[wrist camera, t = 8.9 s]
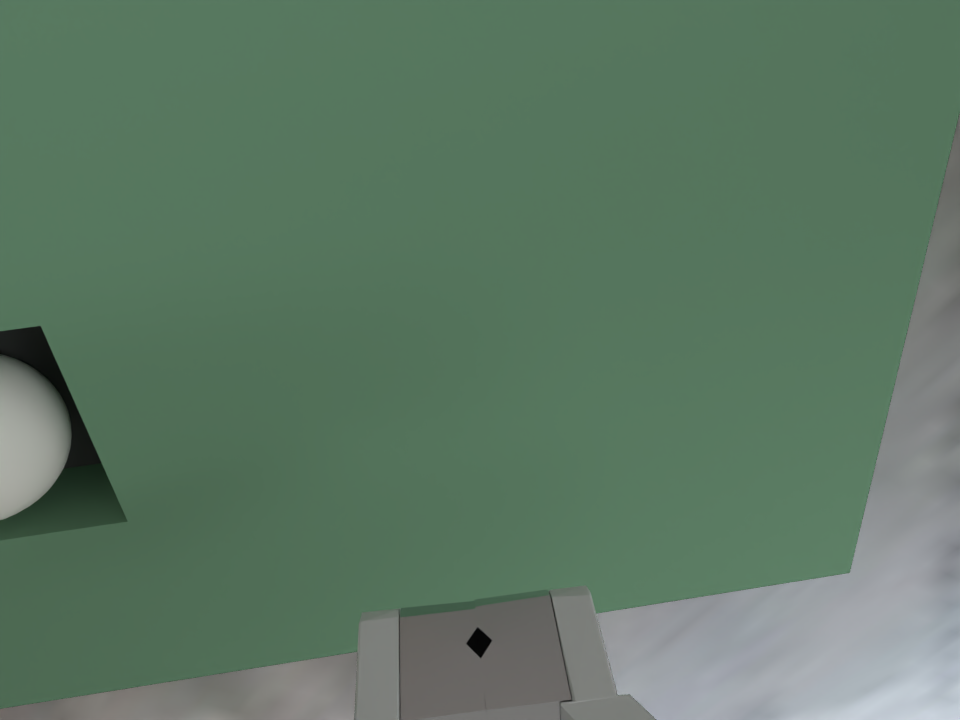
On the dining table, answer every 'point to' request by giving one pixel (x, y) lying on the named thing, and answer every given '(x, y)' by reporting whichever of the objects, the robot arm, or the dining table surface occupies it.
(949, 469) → the dining table surface
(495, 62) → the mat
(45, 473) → the ball
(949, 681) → the dining table surface
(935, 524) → the dining table surface
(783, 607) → the dining table surface
